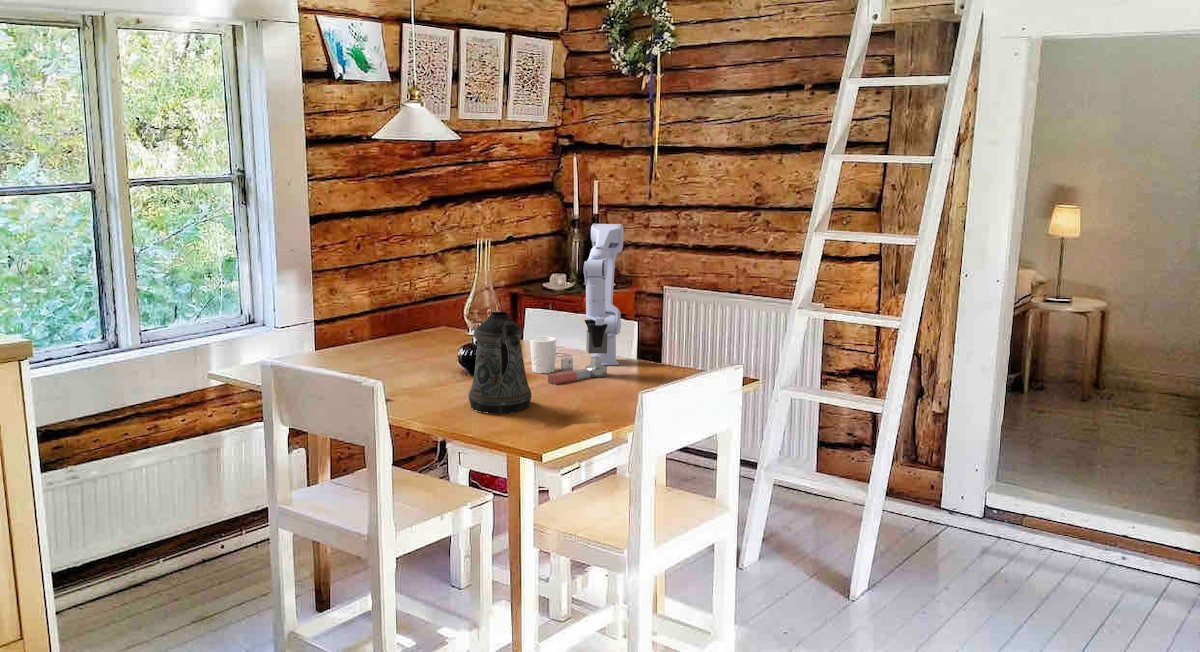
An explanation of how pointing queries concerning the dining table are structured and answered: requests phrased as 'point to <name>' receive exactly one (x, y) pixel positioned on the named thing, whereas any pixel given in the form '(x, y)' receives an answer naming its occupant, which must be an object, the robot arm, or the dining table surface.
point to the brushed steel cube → (592, 349)
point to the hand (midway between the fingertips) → (595, 345)
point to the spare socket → (566, 364)
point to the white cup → (543, 354)
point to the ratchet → (580, 372)
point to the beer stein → (499, 367)
